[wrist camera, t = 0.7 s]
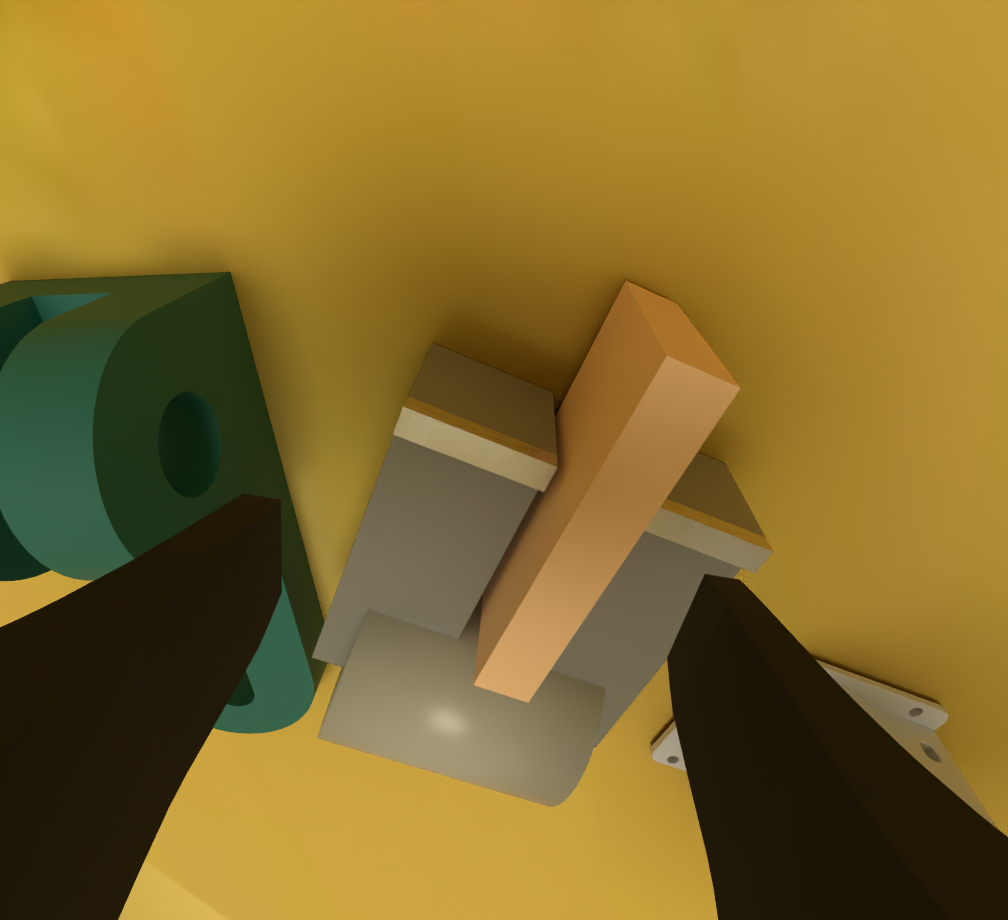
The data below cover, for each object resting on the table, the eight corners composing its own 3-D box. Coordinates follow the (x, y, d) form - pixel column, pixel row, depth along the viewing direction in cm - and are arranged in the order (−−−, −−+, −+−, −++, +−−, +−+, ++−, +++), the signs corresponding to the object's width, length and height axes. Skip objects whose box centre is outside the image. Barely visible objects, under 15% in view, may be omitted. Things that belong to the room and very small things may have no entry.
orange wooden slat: (625, 280, 16) (666, 355, 11) (676, 303, 17) (740, 388, 11) (488, 545, 21) (473, 685, 16) (530, 560, 21) (528, 702, 16)
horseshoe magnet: (432, 342, 18) (390, 433, 13) (725, 463, 20) (793, 588, 14) (326, 627, 24) (269, 767, 19) (556, 701, 26) (560, 849, 21)
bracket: (15, 279, 18) (-305, 378, 11) (233, 270, 18) (39, 368, 11) (196, 687, 27) (81, 882, 20) (344, 688, 26) (277, 887, 20)
